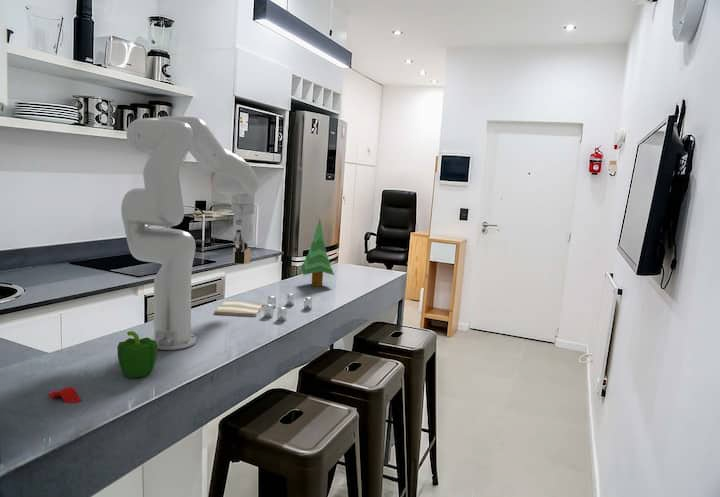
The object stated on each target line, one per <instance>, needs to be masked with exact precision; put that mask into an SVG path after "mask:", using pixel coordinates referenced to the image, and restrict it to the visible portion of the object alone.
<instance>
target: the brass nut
mask: <svg viewBox="0 0 720 497" xmlns="http://www.w3.org/2000/svg"><path fill="white" fill-rule="evenodd" d="M244 252H245V255H244V264H243V265H249V264H250V263H251V259H250V258H251V248H249V247H248V248H244ZM232 254H233V255H232V263H233V264H235V265H239V264H238V263H235V247H233V248H232Z"/></svg>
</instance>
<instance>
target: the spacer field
mask: <svg viewBox="0 0 720 497" xmlns="http://www.w3.org/2000/svg"><path fill="white" fill-rule="evenodd" d="M285 296H286V298H285V306H278V307H277V296H276V295H273V294H272V295H271V294H270V295H269V294H268V295H267V303H264V306H263V317H264V318H267V319H269V318H271V319H272V318H273V317H274V309H275V308H277V317H276V320H277V321H279V322H285V321H287V316H288V315H287V314H288V312H287V311H288V310H287V309H288V307H286V306H291V307H292V306H294V305H295V293H293V292H289V293H286V294H285ZM303 309H304V310H308V311H309V310H312V309H313V297H312V296H304V297H303Z"/></svg>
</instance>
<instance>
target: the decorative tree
mask: <svg viewBox="0 0 720 497" xmlns="http://www.w3.org/2000/svg"><path fill="white" fill-rule="evenodd" d="M321 222H322V221H321V218H319V219H318V223H317V225H316V229H315V231H314V234H313V240H312V242H311V245H310V248H309V250H308V251H307V252H308V253H307V255H306V256H305V259H304V260H303V263H302V264H301V265H300V267H301V271H302V275H304V276H305V275H310V274H311V286H312V287H323V280H324V279H323V278H324V275H323V274H324V273H325V274H329V275H333V276H334V275H335V272H334V270H333V268H332V265H331V263H330V259H329V257H328V254H327V253H328V252H327V249H326V245H325V238H324V233H323V227H322V223H321Z"/></svg>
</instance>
